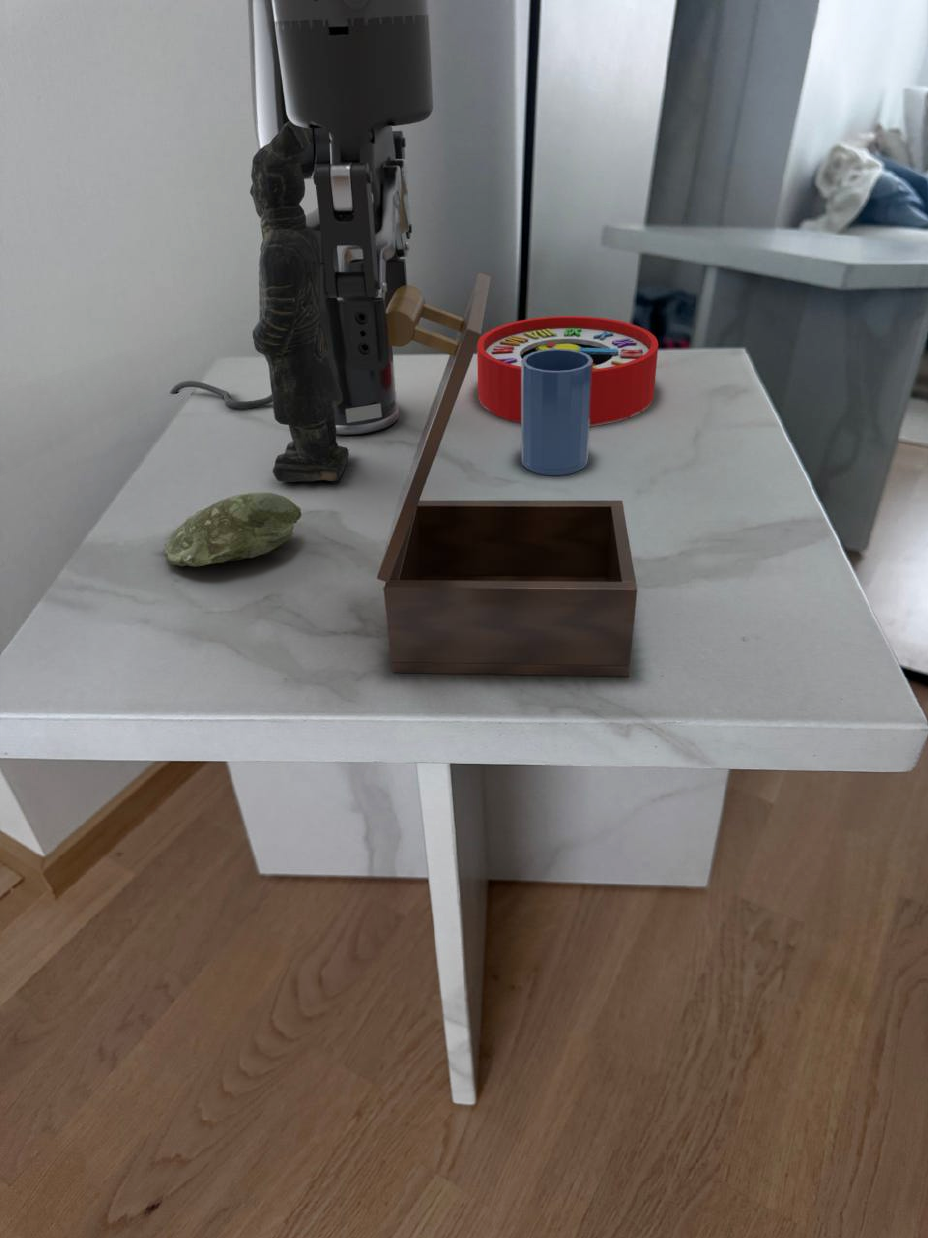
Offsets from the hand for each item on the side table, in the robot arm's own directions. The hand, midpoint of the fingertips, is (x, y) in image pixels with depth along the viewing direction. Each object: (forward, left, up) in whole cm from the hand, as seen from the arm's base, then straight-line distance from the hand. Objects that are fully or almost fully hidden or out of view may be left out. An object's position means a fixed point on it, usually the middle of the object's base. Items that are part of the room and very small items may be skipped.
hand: (381, 343), depth 51 cm
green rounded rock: (-19, 0, -20) cm, 28 cm away
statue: (-24, +14, -20) cm, 35 cm away
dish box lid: (+3, +2, -5) cm, 6 cm away
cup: (-6, +29, -20) cm, 36 cm away
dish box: (+6, +4, -20) cm, 22 cm away
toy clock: (-15, +45, -20) cm, 52 cm away
